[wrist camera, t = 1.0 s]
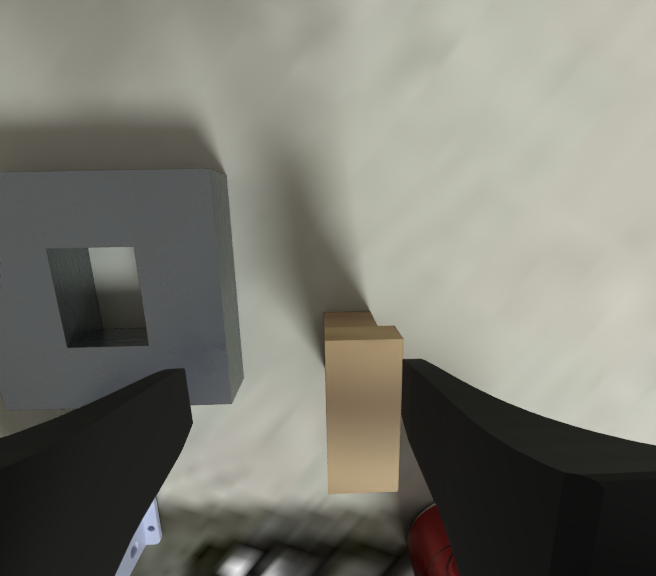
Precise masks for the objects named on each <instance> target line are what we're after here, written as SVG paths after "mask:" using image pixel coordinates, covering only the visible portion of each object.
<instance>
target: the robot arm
mask: <svg viewBox="0 0 656 576" xmlns="http://www.w3.org/2000/svg"><path fill="white" fill-rule="evenodd" d="M401 415H402V419H403V422H404V426H405V430H406V433H407V437H408V440H409V443H410V445H411V448H412V450H413V453H414V455H415V457H416V460H417V462H418V464H419V467H420V469H421V471H422V474H423V476H424V478H425V481H426V483H427V485H428V487H429V490H430V492H431V494H432V497H433V499H434V501H435V504H436V506H437V508H438V511H439V514H440V516H441V519H442V521H443V524H444V527H445V530H446V533H447V536H448V539H449V542H450V546H451V549H452V552H453V555H454V558H455V561H456V564H457V567H458V571H459V574H460V576H656V445H650V444H645V443H640V442H635V441H630V440H626V439H622V438H618V437H614V436H609V435H605V434H601V433H597V432H593V431H590V430H586V429H582V428H579V427H575V426H572V425H569V424H565V423H562V422H559V421H556V420H553V419H550V418H546V417H543V416H541V415H538V414H535V413H532V412H529V411H527V410H524V409H522V408H519V407H517V406H514V405H512V404H509V403H507V402H504V401H502V400H500V399H497V398H495V397H493V396H491V395H489V394H487V393H485V392H483V391H481V390H479V389H477V388H475V387H473V386H471V385H469V384H467V383H465V382H463V381H461V380H460V379H458V378H456V377H454V376H452V375H451V374H449V373H447V372H445V371H444V370H442V369H440V368H438V367H437V366H435V365H433V364H431V363H429V362H427V361H425V360H423V359H402V402H401ZM192 424H193V420H192V413H191V406H190V400H189V393H188V386H187V379H186V372H185V368H176V369H164V370H161V371H158V372H156V373H153V374H151V375H149V376H147V377H144V378H142V379H140V380H138V381H136V382H134V383H132V384H130V385H127V386H125V387H123V388H121V389H119V390H117V391H115V392H113V393H111V394H109V395H107V396H104V397H102V398H100V399H98V400H96V401H93V402H91V403H89V404H87V405H84V406H82V407H80V408H78V409H76V410H73V411H71V412H69V413H67V414H64V415H62V416H59V417H57V418H54V419H52V420H49V421H47V422H44V423H42V424H39V425H36V426H34V427H31V428H28V429H26V430H23V431H20V432H17V433H15V434H12V435H9V436H6V437H3V438H0V576H130V574H131V572H132V570H133V568H134V566H135V565H136V563H137V561H138V559H139V557H140V555H141V553H142V551H143V549H144V547H145V546H146V545H152V544H157V543H159V542H160V540H161V538H162V531H161V525H160V519H159V513H158V507H157V501H156V495H157V493H158V492H159V490H160V488H161V487H162V485H163V483H164V481H165V480H166V478H167V476H168V474H169V473H170V471H171V469H172V467H173V466H174V464H175V462H176V460H177V459H178V457H179V455H180V453H181V451H182V449H183V447H184V444H185V442H186V440H187V437H188V434H189V432H190V429H191V427H192Z"/></svg>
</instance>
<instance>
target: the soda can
mask: <svg viewBox="0 0 656 576" xmlns="http://www.w3.org/2000/svg"><path fill="white" fill-rule="evenodd" d="M407 548H408V552H409V556H410V560H411V564H412V568H413V572H414V576H460V574H459V571H458V567H457V564H456V561H455V558H454V555H453V552H452V549H451V546H450V542H449V539H448V536H447V533H446V530H445V527H444V524H443V521H442V519H441V516H440V514H439V511H438V508H437V506H436V504H435V503H433V504H431V505H430V506H428V507H426V508H425V509H424V510H423V511H421V512H420V513H419V515H418V516H417V517H416V518H415V520H414V522H413V524H412V525H411V527H410V530H409V533H408V537H407Z"/></svg>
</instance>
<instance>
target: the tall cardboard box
mask: <svg viewBox="0 0 656 576" xmlns="http://www.w3.org/2000/svg"><path fill="white" fill-rule="evenodd" d="M324 340H325V382H326V419H327V459H328V494H342V493H371V492H398V478H399V450H400V421H401V393H402V359H403V338H402V336H401V335H400V333H399V331H398V330H397V328H396V327H395V326H377V324H376V322H375V320H374V318H373V316H372V314H371V312H370V311H359V312H324Z"/></svg>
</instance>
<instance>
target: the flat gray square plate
mask: <svg viewBox="0 0 656 576" xmlns="http://www.w3.org/2000/svg"><path fill="white" fill-rule="evenodd" d="M91 247H134V250H135V257H136V263H137V270H138V276H139V283H140V290H141V296H142V303H143V309H144V316H145V322H146V328H128V329H102V323H101V318H100V312H99V307H98V302H97V296H96V291H95V285H94V280H93V275H92V269H91V264H90V259H89V253H88V248H91ZM176 368H185V372H186V379H187V386H188V393H189V400H190V405H214V404H232V402H233V400H234V398H235V396H236V394H237V392H238V390H239V387H240V385H241V383H242V381H243V379H244V376H243V364H242V353H241V341H240V329H239V317H238V306H237V294H236V282H235V270H234V259H233V247H232V235H231V223H230V212H229V200H228V188H227V176H226V175H224V174H222V173H219V172H217V171H214V170H212V169H153V170H95V171H37V172H0V392H1V396H2V400H3V403H4V407H5V411H8V410H43V409H77V408H80V407H82V406H84V405H87V404H89V403H91V402H93V401H96V400H98V399H100V398H102V397H104V396H107V395H109V394H111V393H113V392H115V391H117V390H119V389H121V388H123V387H125V386H127V385H130V384H132V383H134V382H136V381H138V380H140V379H142V378H144V377H147V376H149V375H151V374H153V373H156V372H158V371H161V370H164V369H176Z"/></svg>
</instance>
